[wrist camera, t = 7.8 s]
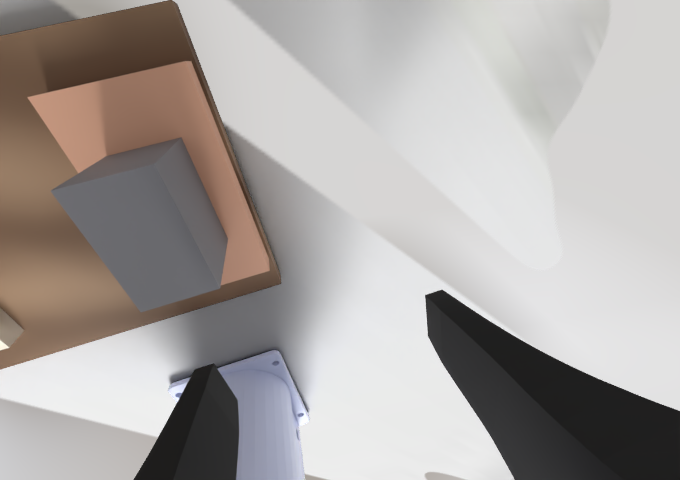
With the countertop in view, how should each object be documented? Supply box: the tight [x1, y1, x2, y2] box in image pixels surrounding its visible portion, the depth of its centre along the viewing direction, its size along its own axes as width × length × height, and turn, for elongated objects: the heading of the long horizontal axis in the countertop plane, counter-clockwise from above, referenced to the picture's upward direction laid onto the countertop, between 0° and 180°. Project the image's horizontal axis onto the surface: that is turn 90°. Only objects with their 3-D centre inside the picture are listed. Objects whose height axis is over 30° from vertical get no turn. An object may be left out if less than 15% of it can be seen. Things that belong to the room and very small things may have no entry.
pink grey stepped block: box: [27, 61, 270, 312], centre depth 13 cm, size 10×6×5 cm, turn 12°
